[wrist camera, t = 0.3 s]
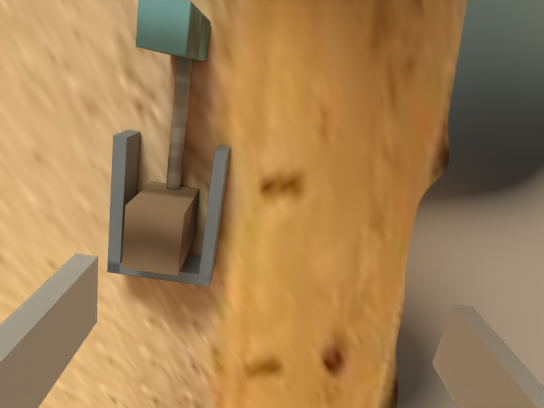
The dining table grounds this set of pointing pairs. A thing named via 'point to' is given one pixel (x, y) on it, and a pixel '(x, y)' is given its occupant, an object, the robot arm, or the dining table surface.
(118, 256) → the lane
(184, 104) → the tethered block
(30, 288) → the dining table surface
